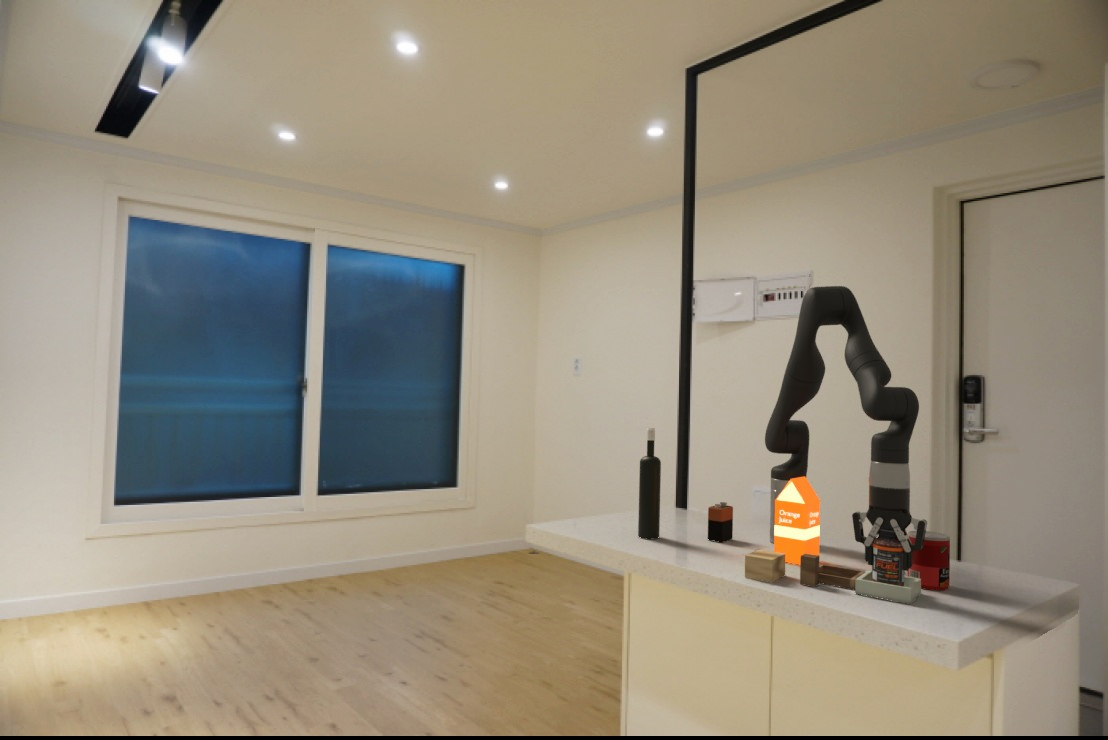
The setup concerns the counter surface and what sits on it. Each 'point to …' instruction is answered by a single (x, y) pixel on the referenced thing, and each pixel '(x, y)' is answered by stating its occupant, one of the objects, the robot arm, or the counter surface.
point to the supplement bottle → (888, 559)
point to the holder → (838, 576)
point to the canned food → (931, 561)
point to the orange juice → (797, 521)
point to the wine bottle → (649, 491)
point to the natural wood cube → (765, 565)
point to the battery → (720, 522)
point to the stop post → (809, 569)
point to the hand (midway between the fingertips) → (888, 566)
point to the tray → (888, 588)
